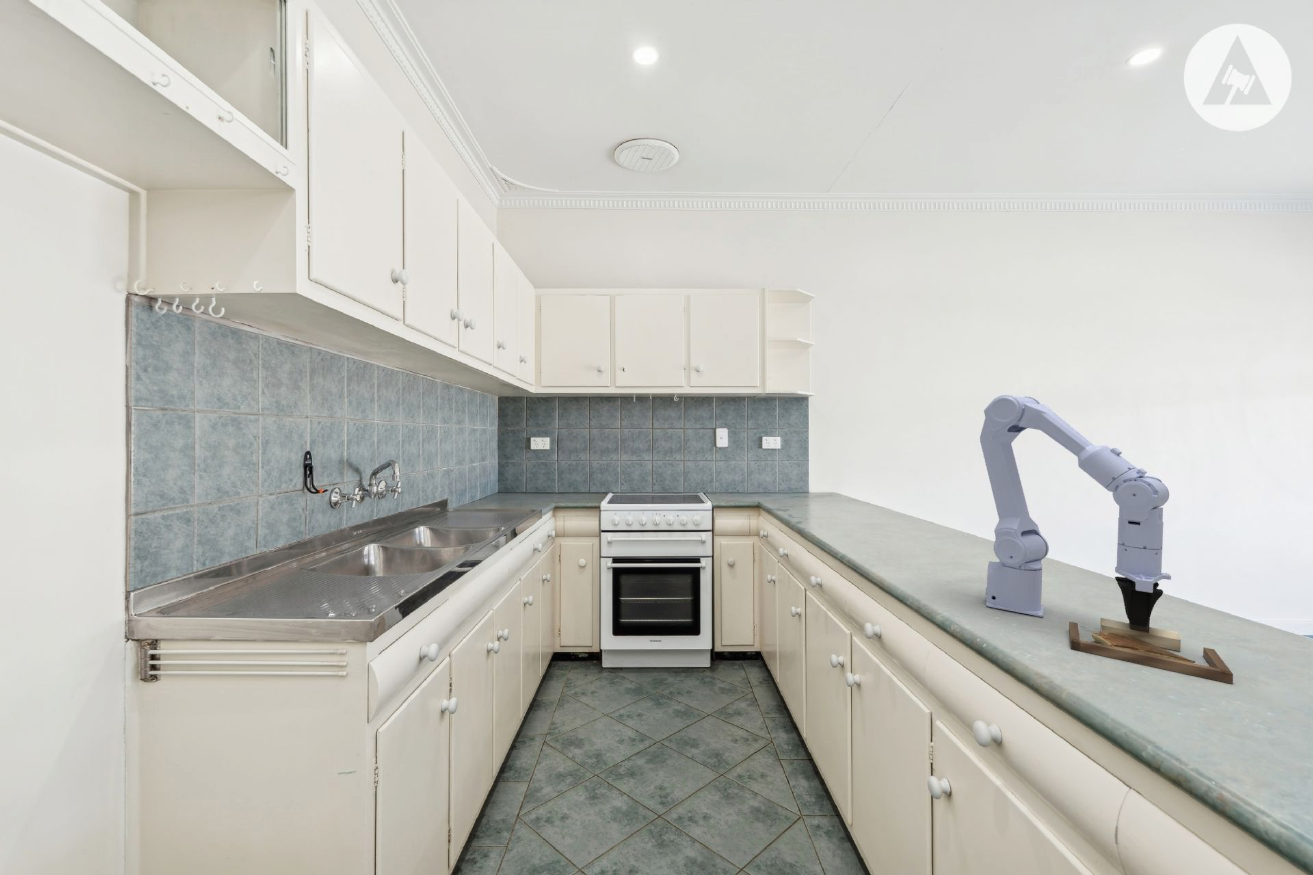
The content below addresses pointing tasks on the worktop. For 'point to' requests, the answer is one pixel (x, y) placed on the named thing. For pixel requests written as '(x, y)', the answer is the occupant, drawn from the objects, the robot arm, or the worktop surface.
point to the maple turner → (1143, 633)
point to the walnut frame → (1156, 658)
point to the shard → (1134, 645)
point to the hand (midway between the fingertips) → (1136, 622)
